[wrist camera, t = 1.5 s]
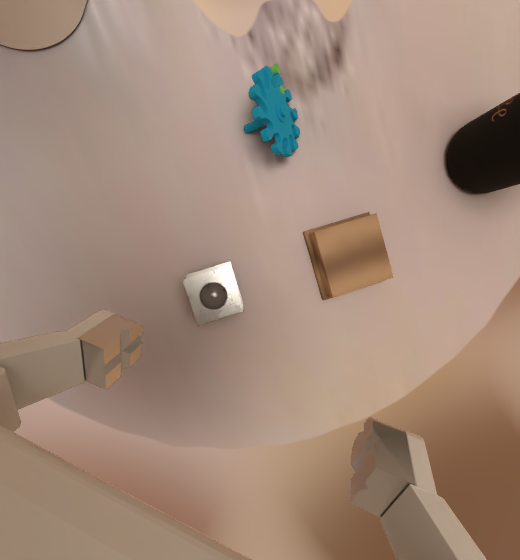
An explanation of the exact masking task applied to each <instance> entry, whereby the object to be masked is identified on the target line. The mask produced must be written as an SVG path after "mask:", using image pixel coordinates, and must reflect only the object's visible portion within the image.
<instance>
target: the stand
mask: <svg viewBox="0 0 520 560" xmlns="http://www.w3.org/2000/svg"><path fill="white" fill-rule="evenodd" d="M303 234H304V237H305V241H306V244H307V248H308V251H309V255H310V258H311V262H312V265H313V269H314V272H315V276H316V279H317V283H318V286H319V290H320V293H321V297H322V300H326V299H329V298H332V297H336V296H339V295H342V294H345V293H348V292H351V291H354V290H357V289H360V288H363V287H366V286H369V285H372V284H375V283H378V282H381V281H384V280H387V279H390V278H393V274H392V270H391V267H390V263H389V259H388V255H387V251H386V248H385V244H384V240H383V236H382V233H381V229H380V225H379V221H378V218H377V214H376V213H375V214H372V215H370V213H369V212H368V213H365V214H362V215H358V216H355V217H352V218H348V219H345V220H342V221H338V222H335V223H331V224H328V225H325V226H321V227H318V228H315V229H311V230H308V231H305V232H303Z"/></svg>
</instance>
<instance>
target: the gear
mask: <svg viewBox="0 0 520 560" xmlns="http://www.w3.org/2000/svg"><path fill="white" fill-rule="evenodd" d="M279 73H280V68H279V66H278V64H275V65H273V66H272V67H270V68H269V67H268V66H266V67H264V68H262V69H261V70H259V71H258V72H256V73H254V74H253V75H252V79H253V81H254V83H255V85H253V86H252V87H250V89H249V96H250V97H251V99H253V100H254V101H255V102H256V103H257V104H258V106H257V107H255V108H253V109H252V114H253V119H254V120H255V121H253V122H251V123H249V124H247V125H245V126H244V130H245V132H246V133H250V132H252V131H254V130H256V129H258V128H260V127H262V126H264V125H265V126H266V127H267V128H265V129H263V130H261V131H260V134H261V137H262V139H263V141H264V142H267V141H269V140H271V139H272V136H274V138H275V144H272V145H271V150H272V151H273V153H274V154H275V155H278V154H281V153H282V156H283V157H289V156H292V151H293V150H295V149H297V148H298V143H297V141H296V140H295V138H297V137H299V135H300V129H299V128H298V127H297V126H296V125H295V124H294V122H293V121H294V120H296V119H298V116H297V110H296V109H295V108H294V109H292V108H290V107H289V106H288V105H287V102H289V101H291V100H292V97H291V94H290V91H289V89H287V90H285V91H284V88H283V86H282V84H283V80H282V78H281V77H280V75H279ZM282 144H283V147H282Z"/></svg>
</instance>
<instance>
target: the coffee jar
mask: <svg viewBox="0 0 520 560" xmlns="http://www.w3.org/2000/svg"><path fill="white" fill-rule="evenodd" d="M447 166H448V170H449V173H450V175H451V177H452V178H453V180H454V182H455V183H457V184H458V185H459V186H460V187H461V188H463V189H466V190H468V191H471V192H473V193H489V192H493V191H496V190H500V189H503V188H507V187H510V186H514V185H517V184H520V93H518V94H517V95H515V96H513V97H512V98H510V99H508V100H507V101H505V102H503V103H501V104H500V105H498V106H496V107H495V108H493V109H491V110H490V111H488V112H486V113H485V114H483V115H481V116H479V117H478V118H476V119H474V120H473V121H471V122H469V123H468V124H466V125H465V126H464V127H462V128H461V129H460V130H459V131H458V132H457V134H456V135H455V137H454V138H453V140H452V142H451V144H450V146H449V150H448V153H447Z"/></svg>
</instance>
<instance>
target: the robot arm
mask: <svg viewBox="0 0 520 560" xmlns="http://www.w3.org/2000/svg"><path fill="white" fill-rule="evenodd" d="M86 3H87V0H0V44H1V45H4V46H7V47H11V48H16V49H24V50H33V49H41V48H46V47H49V46H52V45H54V44H56V43H58V42H60V41H62V40H63V39H65V38H66V37H67V36H68V35H69V34H70V33H72V31H73V30H74V29H75V28H76V26H77V25H78V23H79V22H80V20H81V18H82V15H83V12H84V9H85V6H86ZM142 333H143V327H142V325H141V324H139V323H137V322H134V321H132V320H130V319H127V318H125V317H123V316H121V315H118V314H115V313H113V312H111V311H109V310H106V309H104V310H100V311H98V312H97V313H95V314H93V315H92V316H90V317H88V318H87V319H85V320H83V321H82V322H80V323H78V324H77V325H75V326H74V327H72V328H70V329H69V330H67V331H65V332H64V333H63V332H61V331H58V332H53V333H48V334H43V335H38V336H33V337H28V338H24V339H19V340H14V341H9V342H4V343H0V560H251V559H249V558H248V557H246V556H244V555H242V554H240V553H238V552H236V551H235V550H233V549H231V548H229V547H227V546H225V545H223V544H222V543H220V542H218V541H216V540H214V539H212V538H210V537H208V536H206V535H205V534H203V533H201V532H199V531H197V530H195V529H194V528H191V527H190V526H188V525H186V524H184V523H182V522H180V521H179V520H177V519H175V518H173V517H171V516H169V515H167V514H166V513H164V512H162V511H160V510H158V509H156V508H154V507H152V506H150V505H149V504H147V503H145V502H143V501H141V500H139V499H137V498H136V497H134V496H132V495H130V494H128V493H126V492H124V491H122V490H121V489H119V488H117V487H115V486H113V485H111V484H109V483H108V482H105V481H104V480H102V479H100V478H98V477H96V476H94V475H92V474H91V473H89V472H87V471H85V470H83V469H81V468H79V467H77V466H76V465H74V464H72V463H70V462H68V461H66V460H64V459H62V458H61V457H59V456H57V455H55V454H53V453H51V452H50V451H48V450H46V449H44V448H42V447H40V446H38V445H36V444H35V443H33V442H31V441H29V440H27V439H25V438H23V437H21V436H19V435H18V434H16V433H14V431H15V430H16V429H18V428H19V427H20V424H21V420H20V417H19V414H18V409H21V408H23V407H26V406H28V405H31V404H33V403H35V402H38V401H40V400H42V399H45V398H47V397H50V396H52V395H55V394H57V393H59V392H62V391H64V390H67V389H69V388H71V387H74V386H76V385H79V384H81V383H83V382H85V381H87V382H90V383H92V384H94V385H97V386H99V387H101V388H104V389H106V390H107V389H108V388H109V387H110V386H111V385H112V384H113V383H114V382H115V381H116V380H117V379H118V378H119V377H120V376H121V373H122V370H123V369H126V368H129V367H131V366H132V365H133V364H134V363H135V362H136V361H137V359H138V357H139V356H140V354H141V351H142V345H143V343H142V341H141V339H140V337H139V336H140V335H141V334H142ZM351 465H352V467H353V469H354V471H355V473H354V474H353V476H352V478H351V484H350V488H351V490H350V503H352V504H353V505H355V506H358V507H359V508H361V509H363V510H366V511H368V512H370V513H372V514H374V515H376V516H378V517H380V522H381V524H382V526H383V529H384V531H385V533H386V536H387V538H388V540H389V543H390V545H391V547H392V549H393V552H394V554H395V557H396V559H397V560H486V558H485V557H484V555H483V554H482V553H481V551H480V550H479V548H478V547H477V545H476V544H475V543H474V541H473V540H472V538H471V537H470V536H469V534H468V533H467V532H466V530H465V529H464V527H463V526H462V525H461V523H460V521H459V520H458V519H457V517H456V516H455V515H454V513H453V512H452V510H451V509H450V507H449V506H448V505H447V503H446V502H445V500H444V499H443V498H441V497H439V496H437V492H436V488H435V484H434V480H433V476H432V472H431V468H430V464H429V460H428V455H427V451H426V447H425V443H424V440H423V439H422V437H420V436H418V435H415V434H412V433H410V432H407V431H405V430H402V429H400V428H397V427H395V426H392V425H390V424H387V423H385V422H382V421H379V420H377V419H374V418H372V417H369V418H368V419H367V420H366V422H365V423H364V431H363V432H360V433H358V435H357V437H356V439H355V441H354V444H353V447H352V454H351Z"/></svg>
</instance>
